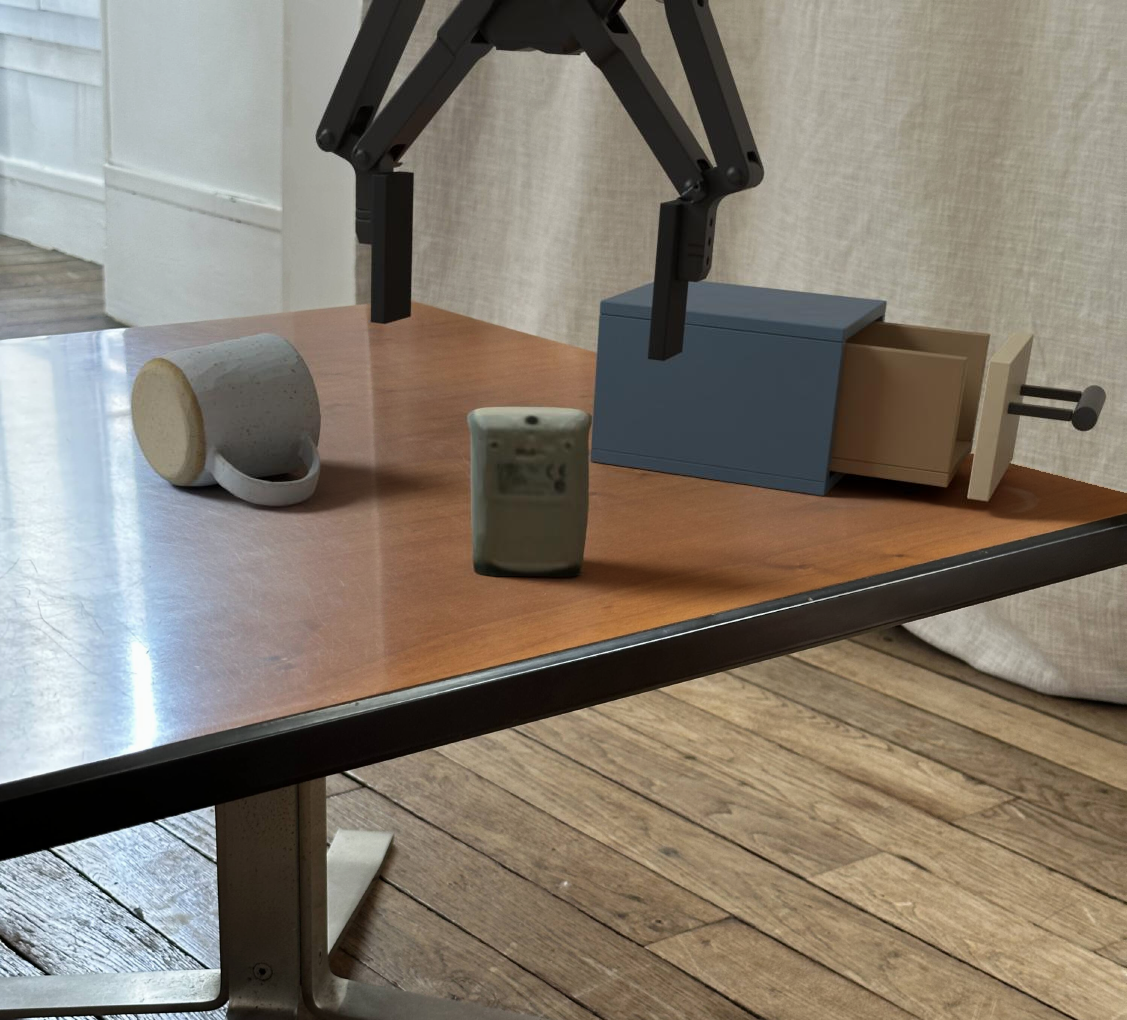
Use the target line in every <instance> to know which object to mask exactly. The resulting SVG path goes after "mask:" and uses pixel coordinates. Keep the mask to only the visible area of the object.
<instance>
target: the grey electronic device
mask: <svg viewBox="0 0 1127 1020" xmlns="http://www.w3.org/2000/svg"><path fill="white" fill-rule="evenodd" d="M466 421H467V426H468V429H469V432H470V477H469V478H470V483H469V484H470V519H471V521H470V522H471V540H472V557H471V558H472V566H473V571H474V572H475V573H476V574H479V575H483V576H490V577H538V578H539V577H546V578H547V577H550V578H551V577H554V578H569V577H575V576H579V575H580V574H581V573H582V569H583V564H584V556H585V548H586V540H587V532H588V531H587V529H588V523H589V522H588V521H589V507H590V496H589V495H590V494H589V493H590V492H589V488H590V466H589V465H590V464H589V463H590V449H589V445H590V443H589V442H590V430H591V427H592V425H593V415H591V414H590V413H589V412H587V411H584V410H583V409H578V408H571V407H558V406H557V407H553V406H489V407H480V408H476V409H473V410H471V411H470V412H469V413H468V414H467V415H466Z"/></svg>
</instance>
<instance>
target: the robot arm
mask: <svg viewBox="0 0 1127 1020" xmlns="http://www.w3.org/2000/svg"><path fill="white" fill-rule="evenodd" d="M626 2H627V0H459V2H458V3H457V5H456V6H455V7H454V8H453V10H451V12H450V13H449V15H448V16H446V19H445V20H444V21H443V23H442V24H441V25H440V27H439V28H438V30H437V31H436V38H435V40H434V41H433V43H431V45H430V46H429V48H428V49H427V50H426V51H425V53H424V55H422V56H421V58H420V60H418V62H417V63H416V65H415V66H414V67H413V69H411V71H410V72H409V74H408V75H407V76H406V78H405V79H404V80H403V81H402V83H401V84H400V85H399V87H398V88H397V89H396V90H395V92H394V93H393V95H392V96H391V97H390V99H389V100H388V101H387V103H386V104H385V106H384V107H383V108H382V110H380V112H379V113H378V114H377V112H378V110H379V108H380V106H381V104H382V102H383V99H384V97H385V94H386V92H387V90H388V89H389V86H390V84H391V81H392V79H393V77H394V74H395V72H396V70H397V68H398V65H399V64H400V61H401V58H402V56H403V54H404V52H405V49H406V47H407V46H408V43H409V40H410V38H411V36H412V34H413V32H414V30H415V27H416V25H417V23H418V21H419V18H420V16H421V14H422V12H423V9H424V6H425V3H426V0H371V2H370V5H369V7H368V9H367V12H366V14H365V16H364V19H363V21H362V23H361V26H360V28H359V30H358V33H357V35H356V37H355V40H354V42H353V45H352V47H351V50H350V51H349V54H348V56H347V57H346V58H347V59H346V61H345V64H344V65H343V68H342V70H341V73H340V74H339V77H338V80H337V81H336V84H335V87H334V89H333V92H332V93H331V96H330V99H329V100H328V103H327V105H326V108H325V110H324V113H323V114H322V117H321V119H320V122H319V124H318V126H317V129H316V132H315V142H316V144H317V147H318V148H319V149H320V150H321V151H322V152H324V153H332V154H334V155H336V156H338V157H339V158H342V159H343V160H345V161H347V162H348V163H349V164H350V165H351V167H352V169H353V170H354V174H355V222H354V223H355V235H356V238H357V241H358V244H362V245H369V246H371V248H370V251H371V253H370V254H371V255H370V323H371V324H373V323H374V324H380V325H387V324H390V323H394V322H398V321H401V320H404V319H408V318H411V317H412V287H413V286H412V285H413V283H412V282H413V235H414V234H413V233H414V193H415V192H414V190H415V189H414V187H415V186H414V185H415V184H414V183H415V172H414V171H413V172H411V171H401V170H397V171H394V169H395V168H396V169H397V168H400V167H402V166H403V164H404V163H403V162H402V161H400V160H401V159H402V158H403V157H404V155H405V154H406V152H407V151H408V150H409V149H410V148H411V146H412V145H413V144H414V142H415V141H416V140H417V139H418V137H419V136H420V135H421V133H422V132H424V130H425V129H426V127H427V126H428V125H429V124H430V122H431V121H432V120H433V118H435V116H436V115H437V113H438V112H439V111H440V110H441V108H442V107H443V106H444V105H445V103H446V102H447V101H448V100H449V98H450V97H451V96H452V95H453V93H454V92H455V91H456V89H457V88H458V87H459V85H460V84H461V83H462V82H463V81H464V79H465V78H466V77H467V75H468V74H469V73H470V71H471V70H472V69H473V68H474V66H475V65H476V64H477V63H478V62H479V61H480V60H481V59H483V58H484V57H485V56H487V55H488V54H489V53H490V52H491V51H492V50H493V48H494V47H495V51H504V52H520V53H521V52H525V53H527V52H528V53H532V52H535V51H539V52H541V53H544V54H546V55H559V56H581V54H582V53H585V54H586V56H587V58H588V59H589V60H590V62H591V63H592V64H593V66H595V67H596V68H597V69H599V71H600V72H601V73H602V75H603V76H604V78H605V80H606V82H607V83H608V84H609V86H610V87H611V89H612V91H613V92H614V94H615V96H616V97H617V99H618V100H619V102H620V104H621V105H622V106H623V108H624V110H625V111H626V113H627V114H628V116H629V118H630V120H631V121H632V122H633V124H634V125H635V127H636V129H637V130H638V132H639V133H640V136H641V137H643V140H644V142H645V143H646V145H647V146H648V148H649V149H650V151H651V152H652V154H653V156H654V157H655V159H656V160H657V161H658V163H659V165H660V166H661V168H662V170H663V172H664V173H665V175H666V176H667V177H668V179H669V181H670V183H671V184H672V186H673V187H674V189H675V190H676V192H677V193H678V195H679V196H678V197H676V198H675V199H673V200H669V201H664V202H660V204H659V215H658V227H657V240H656V251H655V264H654V277H653V282H654V287H653V299H652V312H651V324H650V336H649V348H648V359H652V360H659V361H665V360H667V359H669V358H671V357H673V356H675V355H677V354H679V353H681V352H682V349H683V338H684V327H685V316H686V305H687V294H688V283H689V281H690V282H699V281H705V280H707V277H708V275H709V274H710V271H711V269H712V265H713V253H714V243H715V234H716V224H717V213H718V209H719V205H720V203H721V202H722V200H723V199H724V198H726V197H728V196H729V195H733V194H736V193H740V192H744V191H747V190H751V189H754V188H756V187H758V186H759V185H760V184H761V183H762V181H764V176H765V168H764V165H763V162H762V159H761V156H760V153H759V150H758V147H757V144H756V141H755V138H754V136H753V133H752V129H751V126H750V122H749V120H748V117H747V114H746V111H745V109H744V105H743V102H742V99H741V97H740V92H739V91H738V88H737V84H736V81H735V79H734V75H733V73H732V69H731V66H730V63H729V61H728V58H727V55H726V51H725V49H724V46H723V43H722V39H721V37H720V34H719V31H718V28H717V24H716V22H715V19H714V16H713V13H712V9H711V7H710V3H709V2H710V1H709V0H655V2H657V3H659V4H663V6H664V12H665V18H666V20H667V24H668V27H669V31H670V34H671V36H672V39H673V42H674V45H675V48H676V51H677V53H678V57H679V60H680V62H681V67H682V68H683V71H684V74H685V77H686V80H687V83H688V87H689V89H690V92H691V95H692V98H693V101H694V103H695V107H696V109H697V113H698V116H699V119H700V121H701V123H702V127H703V130H704V133H705V136H706V138H707V142H708V144H709V147H710V150H711V154H712V156H713V159H714V162H715V165H716V166H714V165H713V163H712V162H711V161H710V159H709V158H708V155H707V154H706V152H705V150H704V149H703V148H702V146H701V145H700V143H699V141H698V140H697V138H696V136H695V135H694V133H693V132H692V130H691V129H690V127H689V125H688V124H687V122H686V121H685V119H684V117H683V116H682V114H681V112H680V111H679V110H678V107H677V106H676V105H675V103H674V102H673V100H672V99H671V97H670V95H669V94H668V92H667V91H666V89H665V87H664V86H663V84H662V82H661V81H660V79H659V78H658V76H657V74H656V73H655V71H654V70H653V68H652V66H651V65H650V63H649V61H648V60H647V59H646V57H645V55H644V53H643V52H642V46H641V44H640V42H639V40H638V38H637V36H636V35H635V34H634V32H633V30H632V29H631V27H630V26H629V24H628V22H627V20H626V19H625V18H624V16H623V14H622V13H621V11H620V10H621V9H622V7H623V6H624V5H625V3H626ZM376 115H377V116H376Z"/></svg>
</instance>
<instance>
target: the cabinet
mask: <svg viewBox="0 0 1127 1020" xmlns="http://www.w3.org/2000/svg"><path fill="white" fill-rule="evenodd" d="M653 287H654V281H652V282H649V283H647V284H643V285H641V286H637V287H635V288H632V289H630V290H626V291H624V292H622V293H621V292H620V293H619V294H615V295H613V296H609V297H608V298H605V299H602V300H600V301H599V315H598V330H597V345H596V359H595V360H596V361H595V377H594V395H593V411H592V412H593V413H592V424H591V427H592V428H591V441H590V442H591V443H590V455H589V462H592V463H598V464H605V465H612V466H619V467H626V468H633V469H639V470H645V471H652V472H659V473H665V474H671V475H680V476H686V477H693V478H700V479H706V480H714V481H720V482H728V483H733V484H740V485H741V484H742V485H746V486H753V487H760V488H761V487H762V488H768V489H774V490H781V491H788V492H794V493H799V494H800V493H801V494H807V495H814V496H822V497H824V496H825V495H827V494H828V492H829V491H831V490H832V488H834V486H835V485H836V484H837V483H838V482H839V481H841V479H842V478H843V477H844V476H845V475H847V473H842V472H835V471H830V465H831V457H832V449H833V441H834V433H835V424H836V416H837V408H838V400H839V392H840V384H841V376H842V368H843V360H844V352H845V344H846V340H847V339H849V338H850V337H851V336H853V335H854V334H856V333H857V332H859V331H860V330H862V329H863V328H865V327H866V326H867V325H869V324H870V323H872V322H873V321H880V322H886V312H887V305H888V304H887V303H888V302H887V300H883V299H872V298H865V297H864V298H863V297H855V296H844V295H835V294H828V293H827V294H826V293H817V292H809V291H799V290H789V289H779V288H772V287H761V286H754V285H743V284H734V283H725V282H716V281H708V280H707V281H706V280H701V281H699V282H690V281H689V283H688V294H687V305H686V316H685V327H684V338H683V349H682V352H681V353H679V354H677V355H675V356H673V357H671V358H669V359H667V360H665V361H659V360H652V359H648V348H649V336H650V324H651V312H652V299H653Z"/></svg>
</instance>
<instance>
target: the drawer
mask: <svg viewBox="0 0 1127 1020" xmlns="http://www.w3.org/2000/svg"><path fill="white" fill-rule="evenodd" d="M1034 337H1035V334H1034V333H1032V332H1022V331H1014V332H1013V333H1012V334H1011V335H1010V336H1009V337H1008V339H1006V341H1005V342H1004V343H1003V345H1002V346H1001V347H1000V348H999V349H998V350H997V352H996V353H995V354H994V355H993V356H992V357H991V359H990V360H989V362H988V368H987V374H986V380H985V385H984V386H985V387H984V392H983V397H982V404H981V410H980V416H979V422H978V429H977V436H976V441H975V448H974V454H973V459H972V465H971V472H970V478H969V484H968V490H967V499H968V500H974V501H982V502H989V501H990V499H991V497H992V496H993V494H994V492H995V491H996V488H997V487H998V485H999V484H1000V481H1001V480H1002V478H1003V477H1004V475H1005V473H1006V471H1007V469H1008V468H1009V466H1010V464H1011V462H1012V461H1013V459H1014V454H1015V447H1016V442H1017V436H1018V430H1019V424H1020V418H1021V417H1030V418H1039V419H1046V420H1052V421H1061V422H1069V423H1071V425H1072V426H1073V428H1074V429H1075V430H1077V431H1079V432H1088V431H1091V430H1092V429H1093V428H1095V426H1096V425H1097V423H1098V420H1099V417H1100V415H1101V413H1102V410H1103V407H1104V406H1105V403H1106V400H1107V393H1106V391H1105V390H1104V388H1103V387H1101V386H1099V385H1095V384H1094V385H1089V386H1087V387H1086V388H1085V389H1084V390H1083V391H1081V390H1074V389H1067V388H1059V387H1050V386H1049V387H1048V386H1043V385H1033V384H1026V383H1027V378H1028V371H1029V367H1030V360H1031V356H1032V349H1033V344H1034ZM990 339H991V334H990V333H985V332H976V331H969V330H959V329H950V328H943V327H942V328H941V327H932V326H923V325H915V324H905V323H896V322H887V321H884V322H880V321H873V322H872V323H870V324H869V325H867V326H866V327H865V328H863V329H862V330H860V331H859V332H857V333H856V334H854V335H853V336H851V337H850V338H849V339H847V340H846V344H845V352H844V360H843V368H842V376H841V384H840V392H839V400H838V408H837V416H836V424H835V433H834V441H833V449H832V457H831V465H830V471H835V472H842V473H846V474H850V475H856V476H864V477H870V478H877V479H885V480H891V481H899V482H905V483H912V484H920V485H927V486H933V487H939V488H948V486H949V484H951V482H952V480H953V479H954V477H955V476H956V474H958V472H959V470H961V469H960V468H961V467H962V466H963V464H964V463H965V461H966V460H967V459H968V457H969V456H970V454H971V453H972V451H973V443H974V438H975V434H976V433H975V431H976V426H977V420H978V414H979V408H980V401H981V395H982V389H983V382H984V376H985V370H986V364H987V357H988V351H989V345H990ZM1024 397H1031V398H1039V399H1044V400H1045V399H1047V400H1055V401H1063V402H1069V403H1070V402H1071V403H1077V404H1076V406H1075V408H1074V410H1073V409H1071V408H1063V407H1056V406H1048V405H1040V404H1032V403H1023V402H1024V401H1023V400H1024Z"/></svg>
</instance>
